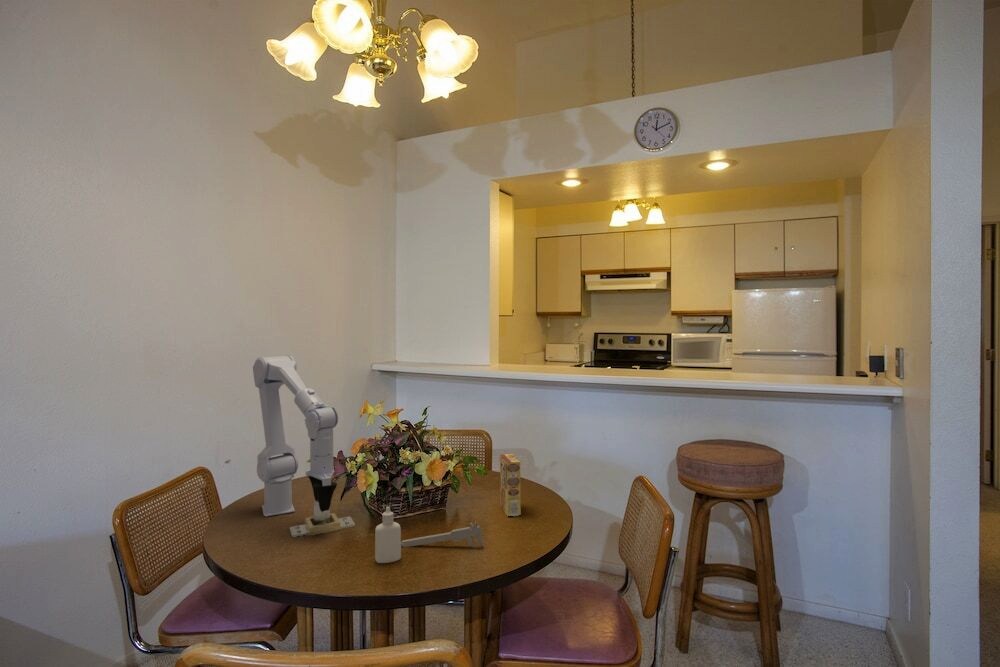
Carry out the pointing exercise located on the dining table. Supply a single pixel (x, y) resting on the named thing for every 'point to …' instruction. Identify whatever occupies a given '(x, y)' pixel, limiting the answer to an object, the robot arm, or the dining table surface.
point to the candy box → (510, 485)
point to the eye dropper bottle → (387, 539)
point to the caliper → (448, 537)
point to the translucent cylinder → (320, 515)
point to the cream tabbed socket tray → (321, 526)
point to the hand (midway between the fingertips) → (322, 505)
